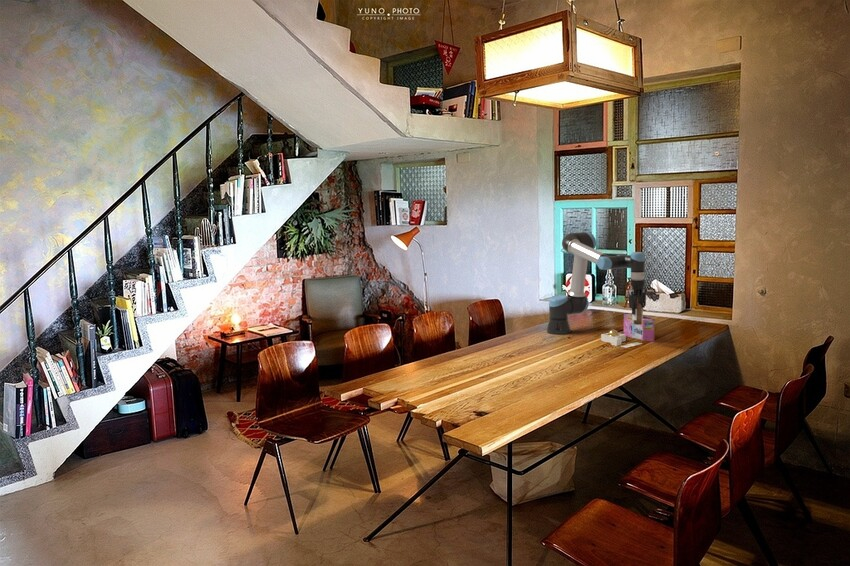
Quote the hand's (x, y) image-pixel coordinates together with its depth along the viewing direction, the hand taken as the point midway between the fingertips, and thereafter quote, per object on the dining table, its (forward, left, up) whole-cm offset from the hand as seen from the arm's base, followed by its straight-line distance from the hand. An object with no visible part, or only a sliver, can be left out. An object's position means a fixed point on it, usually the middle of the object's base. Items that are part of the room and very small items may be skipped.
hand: (637, 319), depth 376 cm
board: (-8, -5, -16) cm, 18 cm away
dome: (-14, -4, -14) cm, 20 cm away
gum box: (-12, +17, -16) cm, 26 cm away
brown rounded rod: (0, 0, -3) cm, 3 cm away
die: (-6, -11, -15) cm, 19 cm away
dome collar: (-14, -4, -15) cm, 20 cm away
